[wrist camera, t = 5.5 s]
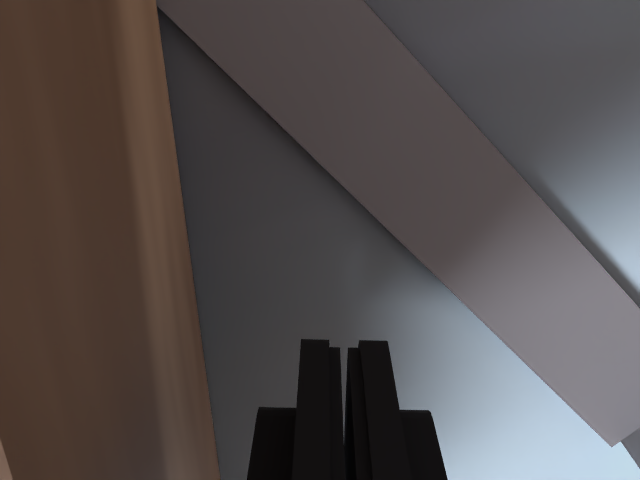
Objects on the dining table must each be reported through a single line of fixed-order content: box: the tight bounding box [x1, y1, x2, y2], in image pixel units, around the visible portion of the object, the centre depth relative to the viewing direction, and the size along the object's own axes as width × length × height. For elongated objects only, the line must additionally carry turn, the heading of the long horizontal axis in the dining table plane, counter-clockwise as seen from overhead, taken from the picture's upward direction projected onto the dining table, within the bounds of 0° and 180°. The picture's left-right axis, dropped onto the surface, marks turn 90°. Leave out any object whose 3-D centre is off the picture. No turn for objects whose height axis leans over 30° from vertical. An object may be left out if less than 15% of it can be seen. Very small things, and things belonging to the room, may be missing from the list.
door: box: [0, 0, 221, 480], centre depth 10 cm, size 2×19×8 cm, turn 2°
